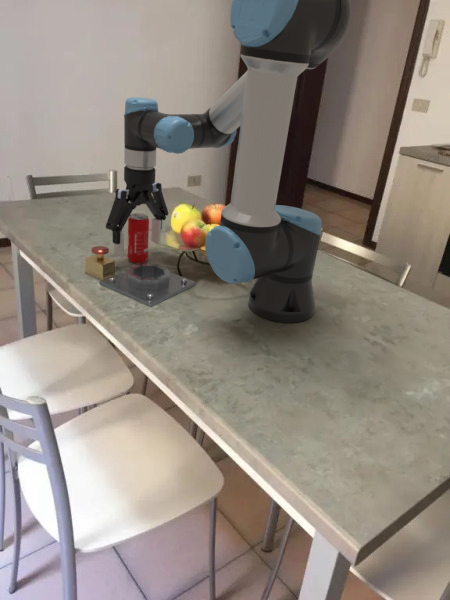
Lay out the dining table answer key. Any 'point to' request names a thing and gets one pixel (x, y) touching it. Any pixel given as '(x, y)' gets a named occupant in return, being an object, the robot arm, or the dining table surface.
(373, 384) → the dining table surface
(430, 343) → the dining table surface
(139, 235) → the beverage can
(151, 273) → the flange socket
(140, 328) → the dining table surface
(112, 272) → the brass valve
